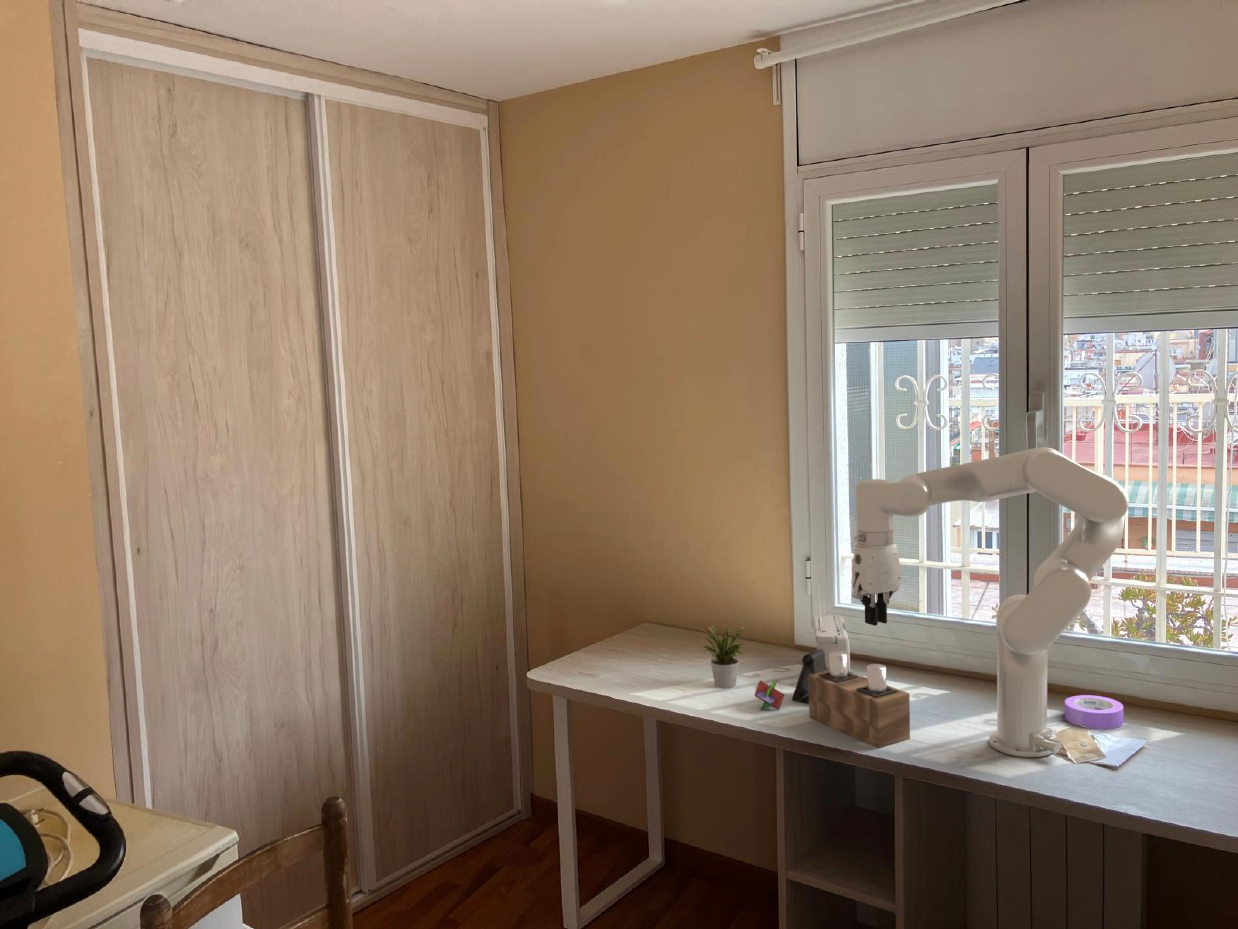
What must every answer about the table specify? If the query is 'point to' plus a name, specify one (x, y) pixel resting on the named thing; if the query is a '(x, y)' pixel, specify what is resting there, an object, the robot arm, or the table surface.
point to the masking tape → (1094, 712)
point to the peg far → (838, 665)
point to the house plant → (724, 658)
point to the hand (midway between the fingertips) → (875, 622)
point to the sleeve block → (859, 709)
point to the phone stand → (811, 665)
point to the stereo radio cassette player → (831, 635)
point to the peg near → (876, 678)
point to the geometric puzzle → (769, 694)
